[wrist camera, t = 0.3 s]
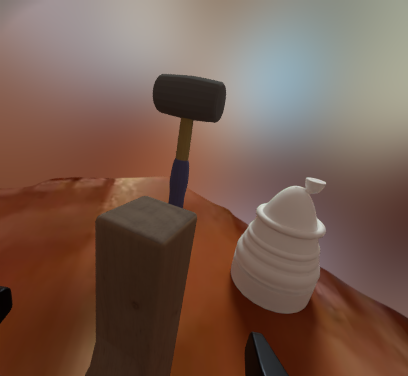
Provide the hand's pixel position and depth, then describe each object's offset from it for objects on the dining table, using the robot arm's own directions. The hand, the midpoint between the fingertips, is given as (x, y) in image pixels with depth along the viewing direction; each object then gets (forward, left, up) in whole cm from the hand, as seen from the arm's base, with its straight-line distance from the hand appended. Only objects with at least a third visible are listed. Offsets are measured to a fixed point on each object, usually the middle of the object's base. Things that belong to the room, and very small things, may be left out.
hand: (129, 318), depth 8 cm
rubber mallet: (+37, +2, -17) cm, 40 cm away
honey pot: (+23, -16, -17) cm, 33 cm away
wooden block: (+4, +2, -17) cm, 17 cm away
